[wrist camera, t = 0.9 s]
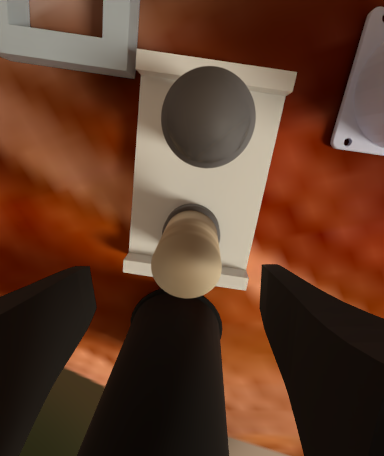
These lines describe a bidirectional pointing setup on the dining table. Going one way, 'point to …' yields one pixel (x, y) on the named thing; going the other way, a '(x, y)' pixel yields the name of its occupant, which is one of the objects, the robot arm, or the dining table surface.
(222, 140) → the plain peg
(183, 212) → the banded peg
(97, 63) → the pin block
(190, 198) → the flanged base plate
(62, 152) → the dining table surface
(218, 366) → the aerosol can
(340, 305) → the robot arm
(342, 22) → the dining table surface
